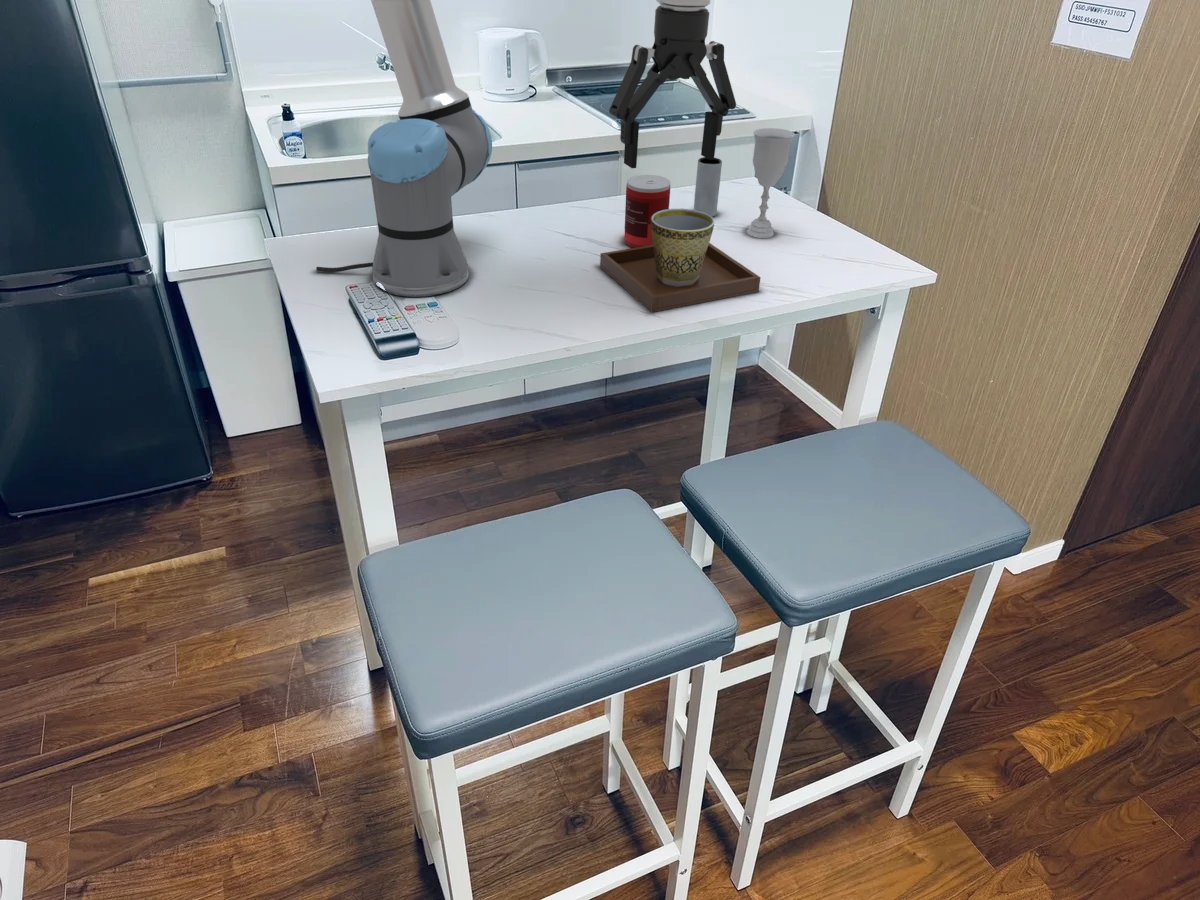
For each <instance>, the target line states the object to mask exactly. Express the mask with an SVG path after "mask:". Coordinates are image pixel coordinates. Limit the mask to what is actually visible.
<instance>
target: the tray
mask: <svg viewBox="0 0 1200 900" xmlns="http://www.w3.org/2000/svg"><path fill="white" fill-rule="evenodd" d="M599 257H600V258H599V260H600V261H599V265H600V266H599V268H600V269H601V270H602V271H604V272H605V273H606V274H607V275H608V276H610V278H612V279H613V280H614V281H615V282H616V283H617V284H619V285H620V286H621V287H622V288H623V289H624V290H626V291H627V292H628V293H629V294H630V295H631V296H632V297H633V298H634V299H636V300H637V301H638V302H639V303H640V304H642V306H644V307H645V308H646V309H647V310H648V311H650V312H651V313H656V312H662V311H665V310H671V309H677V308H681V307H688V306H693V305H699V304H703V303H707V302H713V301H717V300H722V299H728V298H733V297H739V296H742V295H743V296H744V295H749V294H754V293H758V292H759V291H760V284H761V276H759V275H758V274H756V273H755V272H754V271H752V270H750V269H749V268H748V267H746V266H744V264H741V263H740V262H739V261H737V260H736V259H734V258H733V257H731V256H730V255H729V254H727V253H726V252H724V251H722V250H721V249H720V248H718V247H717V246H715V245H714V244H712V243H711V242H709V245H708V248H707V251H706V255H705V258H704V262H703V265H702V269H701V273H700V276H699V278H698V280H697V281H696V282H695V283H694V284H693V285H689V286H681V287H675V286H671V285H666V284H663V283H662V282H661V281H660V279H659V278H658V277H657V272H656V263H655V254H654V245H649V246H643V247H636V248H632V247H630V248H625V249H618V250H613V251H607V252H606V251H605V252H600V256H599Z"/></svg>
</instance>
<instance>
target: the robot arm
mask: <svg viewBox="0 0 1200 900" xmlns="http://www.w3.org/2000/svg"><path fill="white" fill-rule="evenodd" d="M370 1H371V4H372V7H373V11H374V14H375V17H376V20H377V23H378V26H379V29H380V33H381V36H382V38H383V42H384V44H385V47H386V51H387V54H388V57H389V60H390V63H391V66H392V69H393V72H394V75H395V79H396V81H397V84H398V87H399V90H400V94H401V97H402V103H401V105H400V108H399V110H398V111H397V114H398V118H399V119H397V120H396V121H395V122H392V121H390V122H387V123H384V124H382V125H380V126H379V127H377V128H376V129H375V130H373V131H372V132H371V133H370V135H369V138H368V141H367V153H368V155H367V166H368V169H369V172H370V180H371V187H372V195H373V202H374V209H375V216H376V224H377V230H378V236H377V242H376V247H375V250H374V251H375V252H374V257H373V261H371V262H364V263H363V262H362V263H356V264H350V265H349V264H348V265H345V266H338V267H325V266H316V267H315V270H316V272H323V273H339V272H345V271H351V270H356V269H364V268H372V270H371V273H372V280H373V284H374V283H377V282H379V283H381V284H382V285H383V286H384V288H385V290H386V291H387V292H388V293H387V292H386V293H387V294H391V295H396V296H399V297H408V298H409V297H411V298H412V297H413V298H414V297H415V298H418V297H419V298H420V297H422V298H423V297H431V296H438V295H442V294H446V293H449V292H451V291H454V290H456V289H458V288H460V287H461V286H463V285H464V284H465V283H466V282H467V281H468V279H469V264H468V261H467V258H466V256H465V254H464V251H463V248H462V247H461V244H460V242H459V238H458V237H457V234H456V231H455V228H454V217H453V205H452V197H453V196H454V195H455V194H457V193H458V192H460V191H461V190H462V189H463V188H465V187H466V186H467V185H470V184H471V183H473V182H475V181H476V180H477V179H478V178H479V176H481V174H482V173H483V171H484V170H485V169H486V168H487V166H488V165H489V162H490V159H491V157H492V151H493V138H492V134H491V131H490V128H489V126H488V124H487V122H486V121H485V119H484V118H483V116H481V115H480V114H478V113H477V112H476V110H474V109H473V107H472V103H471V99H470V96H469V94H468V93H467V92H465V91H464V90H463V89H461V88H460V87H458V86H457V85H456V83H455V79H454V76H453V75H454V74H453V72H452V68H451V66H450V63H449V58H448V55H447V52H446V48H445V46H444V42H443V39H442V35H441V31H440V28H439V24H438V21H437V18H436V14H435V12H434V8H433V4H432V1H431V0H370ZM655 1H656V2H657V3H658V4H659V5H658V6H657V7H656V8H655V11H654V25H653V26H654V27H653V28H654V29H653V37H654V40H653V41H654V42H653V45H652V47H646V46H642V45H639V44H635V45H633V47H632V53H631V59H630V63H629V65H628V66H627V67H628V68H627V70H626V72H625V74H624V77H623V78H622V80H621V83H620V85H619V87H618V89H617V92H616V94H615V96H614V98H613V100H612V103H611V105H610V107H609V110H608V111H609V112H608V113H609V114H610V115H611V116H613V117H614V118H616V119H619V120H620V135H619V136H620V137H619V138H620V139H619V140H620V142H621V143H622V144H624V149H623V150H624V152H623V153H624V154H623V164H624V165H626V166H627V167H629V168H630V169H637V162H638V148H639V147H638V146H639V132H640V122H639V121H637V120H636V118H638V116H639V114H640V113H641V112H642V110H643V109H644V108H645V107H646V105H647V104H648V103H649V101H650V99H652V97H653V96H654V94H655V93H656V91H657V90H658V89H659V87H660V86H661V85H663V84H665V82H666V81H667V80H670V81H676V80H679V79H683V80H689V79H690V78H691V80H692V81H693V83H694V84H695V86H696V87H697V89H698V91H699V92H700V94H701V96H702V98H703V100H704V101H705V102H706V104H707V106H708V107H709V109H710V110H711V111H705V115H704V124H703V130H702V131H703V132H702V141H701V142H702V143H701V151H700V156H702V157H706V158H707V159H709V160H714V158H715V155H716V144H717V137H718V136H720V135H721V133H722V128H723V119H724V117H725V116H727V115H728V114H729V110H734V109H735V108H737V102H736V98H735V95H734V91H733V87H732V83H731V81H730V77H729V73H728V70H727V69H728V68H727V66H726V63H725V46H724V44H722V43H720V42H718V41H715V40H711V41H709V43H708V44H706V38H707V36H708V30H709V22H710V12H709V10H708V9H707V8H706V7H708V6H709V5H710V4H711V0H655ZM705 58H706V59H707V60H708V64H709V68H710V70H711V74H712V78H713V80H714V81H713V82H714V85H715V87H716V90H715V88H714V86H713V85H712V83H711V82H710V80H709V78H708V77H707V73H706V71H705V70H704V68H703V66H702V65H701V64H702V62H703V61H704V59H705ZM651 59H652V61H653V64H652V65H651V66H650V68H649V70H648V71H647V73H646V77H645V78H644V79H643V80H642V77H643V75H644V73H645V70H646V67H647V65H648V64H649V63H650V62H651ZM641 80H642V82H641ZM640 82H641V83H640ZM639 83H640V85H639ZM716 91H717V92H716Z"/></svg>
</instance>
